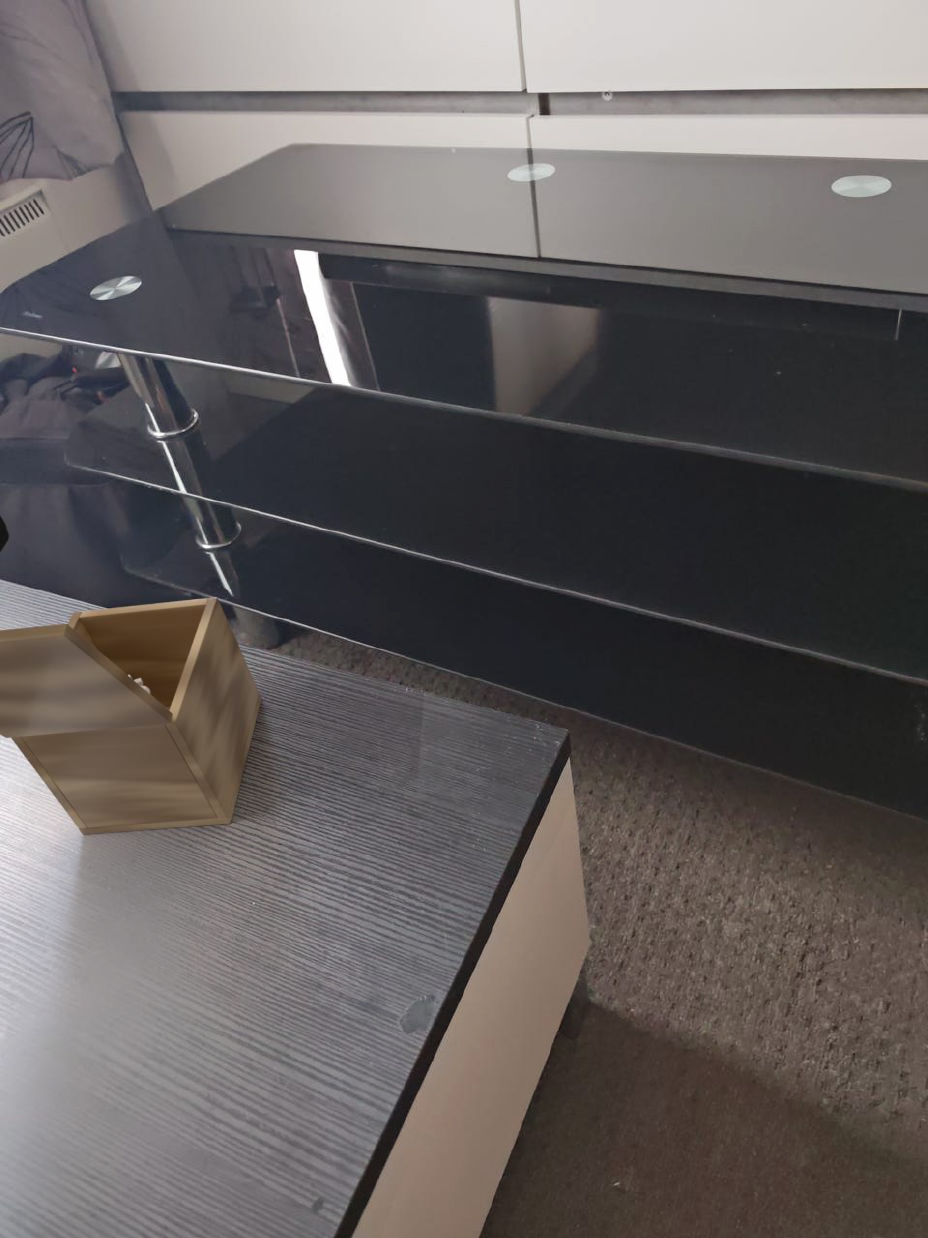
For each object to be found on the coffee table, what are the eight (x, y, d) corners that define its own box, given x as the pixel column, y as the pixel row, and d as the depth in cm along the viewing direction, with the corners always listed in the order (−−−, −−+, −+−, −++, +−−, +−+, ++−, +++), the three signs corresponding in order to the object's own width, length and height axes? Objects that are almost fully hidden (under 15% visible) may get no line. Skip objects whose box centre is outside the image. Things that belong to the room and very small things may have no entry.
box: (131, 710, 85) (73, 612, 77) (262, 698, 83) (217, 596, 75) (82, 834, 75) (10, 737, 66) (230, 824, 73) (175, 722, 65)
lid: (-134, 643, 54) (-138, 655, 54) (66, 622, 52) (64, 635, 52) (8, 728, 66) (5, 738, 66) (173, 713, 65) (172, 723, 64)
